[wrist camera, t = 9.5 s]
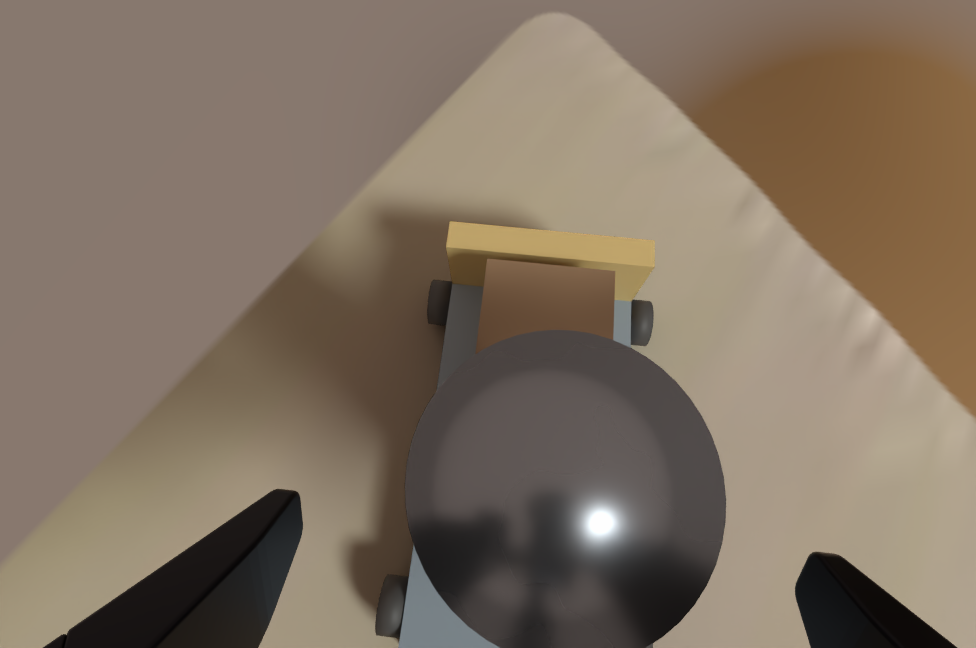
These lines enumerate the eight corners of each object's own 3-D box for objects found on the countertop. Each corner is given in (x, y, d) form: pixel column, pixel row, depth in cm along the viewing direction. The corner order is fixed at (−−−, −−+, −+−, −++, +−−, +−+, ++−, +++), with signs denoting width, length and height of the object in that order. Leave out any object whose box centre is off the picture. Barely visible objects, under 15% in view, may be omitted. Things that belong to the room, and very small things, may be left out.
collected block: (586, 420, 18) (611, 397, 15) (475, 408, 18) (471, 382, 15) (591, 316, 20) (615, 271, 16) (488, 306, 20) (487, 258, 16)
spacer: (603, 458, 18) (755, 390, 7) (563, 589, 16) (681, 730, 6) (486, 412, 18) (475, 290, 8) (437, 535, 17) (349, 580, 7)
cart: (636, 682, 17) (688, 744, 13) (380, 648, 18) (341, 696, 13) (641, 297, 22) (679, 242, 17) (439, 277, 22) (425, 219, 18)
